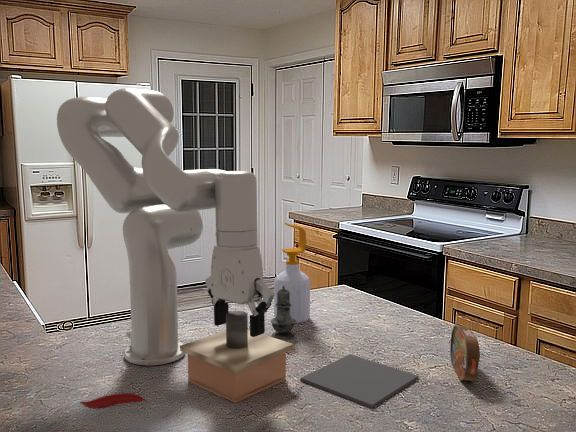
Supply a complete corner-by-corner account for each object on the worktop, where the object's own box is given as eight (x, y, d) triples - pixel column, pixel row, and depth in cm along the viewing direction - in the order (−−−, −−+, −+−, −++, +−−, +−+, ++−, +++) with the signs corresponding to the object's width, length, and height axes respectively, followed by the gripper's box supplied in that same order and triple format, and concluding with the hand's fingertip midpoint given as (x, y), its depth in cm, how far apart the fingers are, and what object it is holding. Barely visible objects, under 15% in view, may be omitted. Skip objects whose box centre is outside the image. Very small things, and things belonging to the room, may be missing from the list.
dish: (188, 381, 105) (187, 350, 104) (238, 361, 115) (238, 333, 114) (235, 403, 97) (235, 369, 96) (285, 379, 106) (285, 349, 105)
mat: (300, 380, 106) (300, 377, 106) (349, 356, 118) (350, 354, 118) (372, 408, 95) (372, 404, 95) (418, 378, 107) (418, 375, 107)
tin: (448, 357, 118) (450, 318, 117) (463, 358, 118) (465, 319, 117) (462, 388, 103) (465, 344, 102) (480, 389, 103) (482, 345, 102)
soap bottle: (270, 314, 146) (270, 221, 142) (302, 311, 148) (304, 220, 145) (279, 325, 137) (280, 226, 134) (314, 322, 140) (316, 225, 137)
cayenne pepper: (73, 410, 95) (73, 399, 94) (85, 397, 99) (84, 387, 99) (142, 412, 94) (142, 402, 94) (151, 400, 98) (151, 389, 98)
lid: (180, 350, 104) (179, 314, 103) (238, 330, 115) (238, 298, 114) (234, 373, 94) (234, 333, 94) (293, 349, 106) (293, 313, 105)
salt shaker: (293, 341, 127) (293, 289, 125) (268, 339, 128) (268, 288, 126) (297, 332, 132) (298, 283, 131) (273, 330, 134) (274, 281, 132)
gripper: (190, 236, 105) (193, 324, 107) (256, 247, 93) (257, 345, 96) (220, 231, 110) (223, 315, 113) (285, 241, 99) (286, 334, 101)
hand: (239, 329), depth 104 cm, fingers open, 9 cm apart
